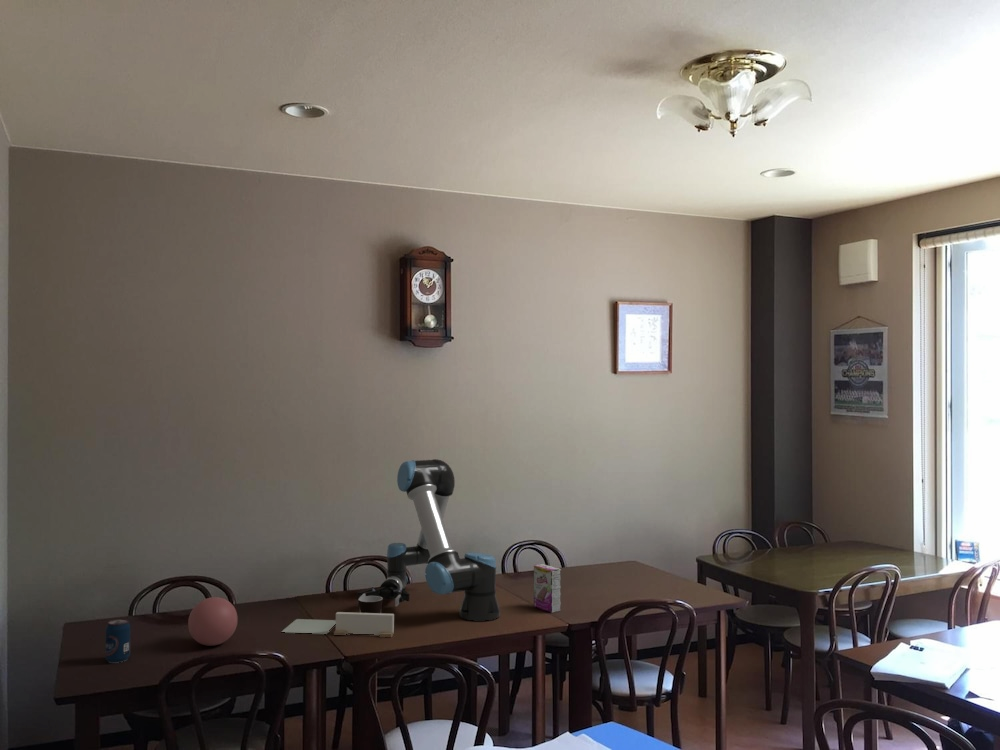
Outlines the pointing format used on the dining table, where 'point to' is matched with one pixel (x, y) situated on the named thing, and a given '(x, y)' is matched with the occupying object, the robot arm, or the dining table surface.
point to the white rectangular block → (364, 623)
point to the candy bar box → (547, 588)
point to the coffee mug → (370, 604)
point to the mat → (310, 626)
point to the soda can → (117, 641)
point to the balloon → (212, 621)
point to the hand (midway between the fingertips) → (378, 602)
